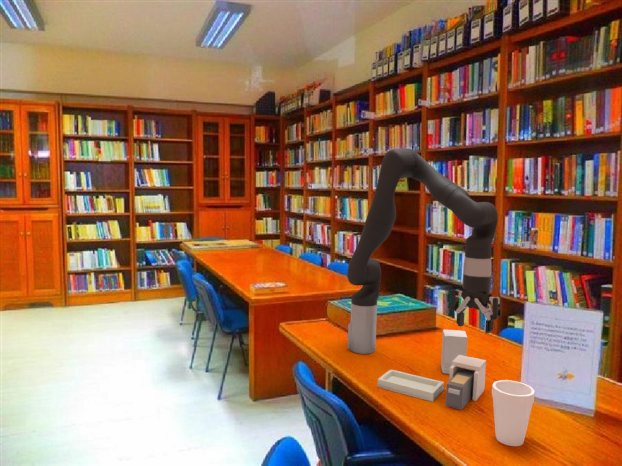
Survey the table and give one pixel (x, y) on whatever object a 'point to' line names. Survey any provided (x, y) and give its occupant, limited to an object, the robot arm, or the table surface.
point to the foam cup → (511, 410)
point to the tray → (411, 385)
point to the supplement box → (452, 347)
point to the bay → (473, 366)
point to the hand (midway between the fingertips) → (474, 329)
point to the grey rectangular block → (460, 389)
